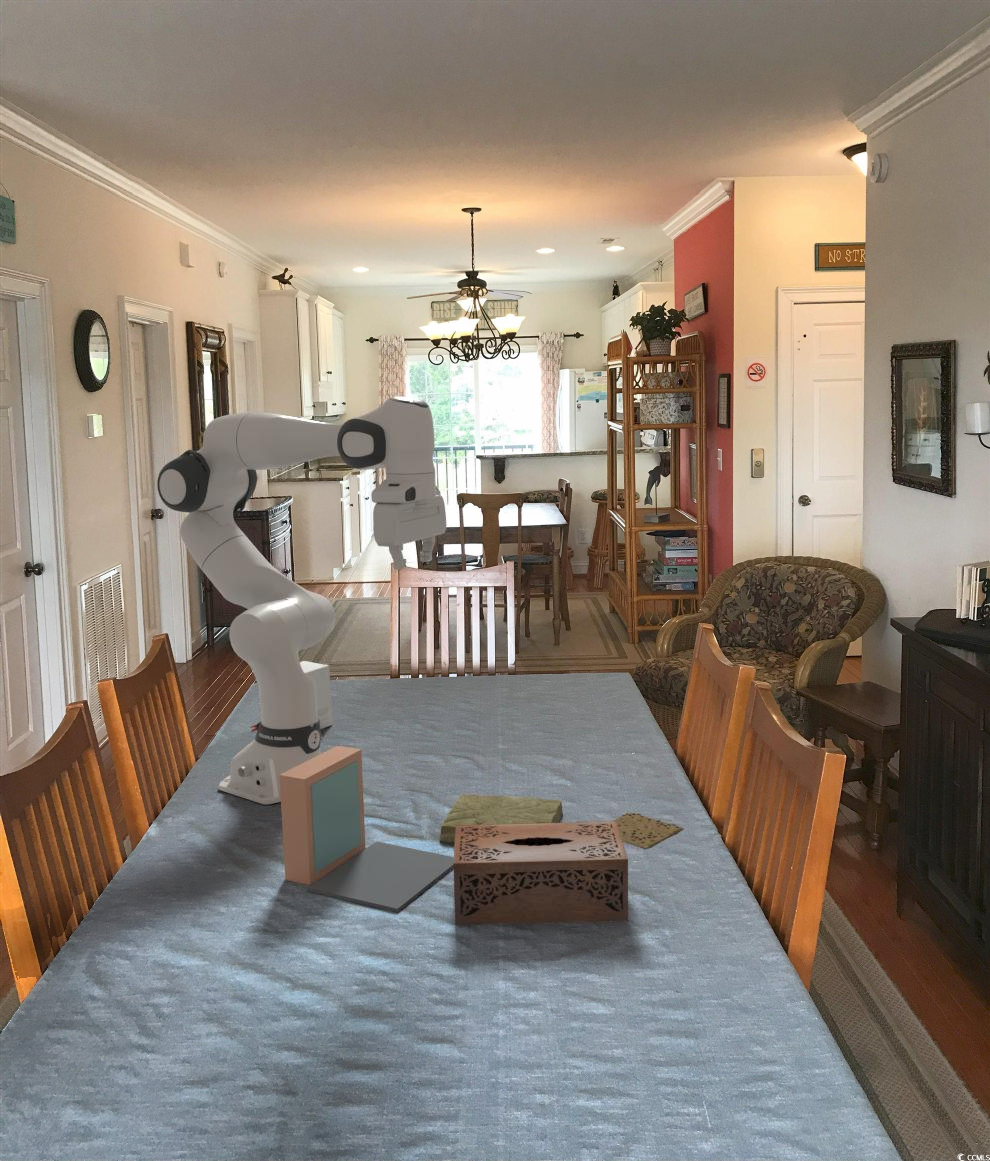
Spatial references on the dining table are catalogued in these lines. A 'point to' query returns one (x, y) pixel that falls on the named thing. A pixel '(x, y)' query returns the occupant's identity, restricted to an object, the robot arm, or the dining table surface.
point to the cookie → (644, 830)
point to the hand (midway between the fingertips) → (413, 565)
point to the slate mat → (384, 876)
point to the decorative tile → (498, 812)
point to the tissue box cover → (540, 873)
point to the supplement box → (321, 690)
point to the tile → (322, 814)
